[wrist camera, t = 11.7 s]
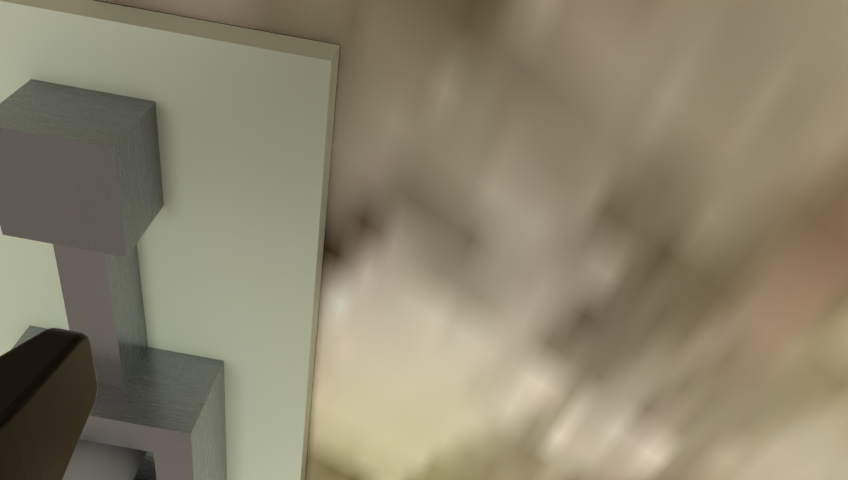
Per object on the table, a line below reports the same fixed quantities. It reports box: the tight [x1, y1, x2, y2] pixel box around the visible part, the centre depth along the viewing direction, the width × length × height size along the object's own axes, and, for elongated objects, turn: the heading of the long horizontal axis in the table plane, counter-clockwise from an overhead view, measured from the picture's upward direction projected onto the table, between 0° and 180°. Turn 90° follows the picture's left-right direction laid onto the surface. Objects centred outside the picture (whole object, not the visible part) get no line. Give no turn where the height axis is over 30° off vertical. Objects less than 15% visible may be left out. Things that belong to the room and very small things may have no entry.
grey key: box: [0, 79, 227, 480], centre depth 22 cm, size 6×15×3 cm, turn 172°
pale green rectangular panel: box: [0, 0, 340, 480], centre depth 23 cm, size 12×20×5 cm, turn 172°
